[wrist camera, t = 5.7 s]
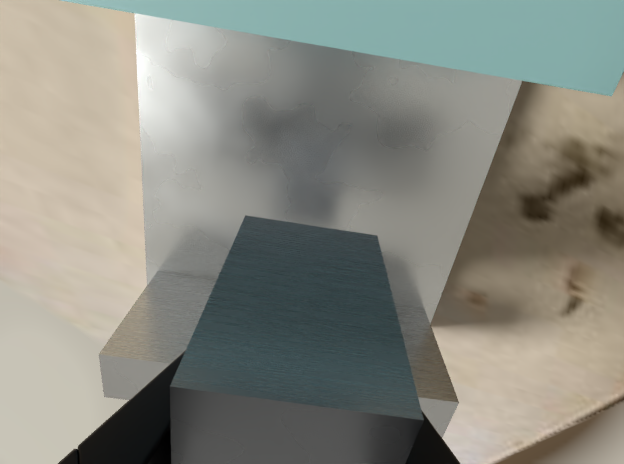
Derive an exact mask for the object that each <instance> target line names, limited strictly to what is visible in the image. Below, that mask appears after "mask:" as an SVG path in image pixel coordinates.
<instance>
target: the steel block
mask: <svg viewBox="0 0 624 464" xmlns="http://www.w3.org/2000/svg"><path fill="white" fill-rule="evenodd" d="M170 420H171V464H405V463H406V461H407V458H408V456H409V454H410V451H411V449H412V447H413V445H414V442H415V440H416V438H417V435H418V433H419V431H420V428H421V426H422V424H423V421H424V419H423V415H422V411H421V407H420V403H419V399H418V395H417V391H416V387H415V383H414V379H413V375H412V371H411V367H410V363H409V359H408V355H407V351H406V347H405V343H404V339H403V335H402V331H401V328H400V324H399V320H398V316H397V312H396V308H395V304H394V300H393V296H392V292H391V288H390V284H389V280H388V276H387V272H386V268H385V264H384V260H383V256H382V252H381V248H380V244H379V240H378V236H377V235H370V234H364V233H357V232H351V231H344V230H338V229H331V228H325V227H318V226H312V225H305V224H299V223H292V222H286V221H279V220H273V219H266V218H260V217H253V216H247V215H245V217H244V220H243V222H242V224H241V226H240V229H239V231H238V233H237V235H236V238H235V240H234V242H233V245H232V247H231V249H230V251H229V254H228V256H227V258H226V260H225V263H224V265H223V267H222V269H221V272H220V274H219V276H218V278H217V281H216V283H215V285H214V288H213V290H212V292H211V294H210V297H209V299H208V301H207V303H206V306H205V308H204V310H203V312H202V315H201V317H200V319H199V321H198V324H197V326H196V328H195V331H194V333H193V335H192V337H191V340H190V342H189V344H188V346H187V349H186V351H185V353H184V355H183V358H182V360H181V362H180V364H179V367H178V369H177V371H176V374H175V376H174V378H173V380H172V383H171V385H170Z"/></svg>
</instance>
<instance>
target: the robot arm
mask: <svg viewBox="0 0 624 464" xmlns="http://www.w3.org/2000/svg"><path fill="white" fill-rule="evenodd" d="M185 351H186V350H185ZM185 351H184V352H183V353H182V354H181V355H180V356H178V357H177V358H176V359H175V360H174V361H173V362H172V363H171V364H169V365H168V366H167V367H166V368H165V369H164V370H163V371H162V372H160V373H159V374H158V375H157V376H156V377H155V378H154V379H153V380H151V381H150V382H149V383H148V384H147V385H146V386H145V387H144V388H142V389H141V390H140V391H139V392H138V393H137V394H136V395H135V396H133V397H132V398H131V399H130V400H129V401H128V402H127V403H126V404H124V405H123V406H122V407H121V408H120V409H119V410H118V411H117V412H115V413H114V414H113V415H112V416H111V417H110V418H109V419H108V420H106V421H105V422H104V423H103V424H102V425H101V426H100V427H99V428H98V429H96V430H95V431H94V432H93V433H92V434H91V435H90V436H88V438H86V439H85V440H84V441H83V442H82V443H81V444H80V445H79V446H78V449H74V450H73V451H71V452H70V453H69V454H68V455H67V456H66V457H65V458H64V459H62V460H61V461H60V462H59V463H58V464H171V420H170V385H171V383H172V380H173V378H174V376H175V374H176V371H177V369H178V367H179V364H180V362H181V360H182V358H183V355H184V353H185ZM421 411H422V410H421ZM422 415H423V419H424V421H423V424H422V426H421V428H420V431H419V433H418V435H417V438H416V440H415V442H414V445H413V447H412V449H411V451H410V454H409V456H408V458H407V461H406V463H405V464H460V462H459V461H458V460H457V458H456V457H455V456H454V454H453V453H452V451H451V450H450V449H449V447H448V446H447V444H446V443H445V442H444V440H443V439H442V437H441V436H440V435H439V433H438V432H437V431H436V429H435V428H434V426H433V425H432V424H431V422H430V421H429V419H428V418H427V417H426V415H425V414H424V412H423V411H422Z"/></svg>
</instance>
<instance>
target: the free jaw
mask: <svg viewBox="0 0 624 464" xmlns="http://www.w3.org/2000/svg"><path fill="white" fill-rule="evenodd" d="M61 1H67V2H73V3H79V4H84V5H90V6H96V7H102V8H107V9H113V10H119V11H125V12H130V13H136V14H142V15H148V16H153V17H159V18H165V19H171V20H176V21H182V22H188V23H194V24H199V25H205V26H211V27H217V28H222V29H228V30H234V31H240V32H245V33H251V34H257V35H263V36H268V37H274V38H280V39H285V40H291V41H297V42H303V43H308V44H314V45H320V46H326V47H331V48H337V49H343V50H349V51H354V52H360V53H366V54H372V55H377V56H383V57H389V58H395V59H400V60H406V61H412V62H418V63H423V64H429V65H435V66H441V67H446V68H452V69H458V70H464V71H469V72H475V73H481V74H487V75H492V76H498V77H504V78H510V79H515V80H521V81H527V82H533V83H538V84H544V85H550V86H555V87H561V88H567V89H573V90H578V91H584V92H590V93H596V94H601V95H607V96H612V95H613V93H614V91H615V88H616V86H617V84H618V82H619V80H620V78H621V76H622V74H623V72H624V0H61Z"/></svg>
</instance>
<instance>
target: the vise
mask: <svg viewBox="0 0 624 464" xmlns="http://www.w3.org/2000/svg"><path fill="white" fill-rule="evenodd" d="M135 32H136V54H137V76H138V98H139V120H140V141H141V163H142V185H143V207H144V229H145V251H146V272H147V287H146V288H145V290H144V291H143V292H142V294H141V295H140V297H139V298H138V300H137V301H136V302H135V304H134V305H133V307H132V308H131V309H130V311H129V312H128V314H127V315H126V317H125V318H124V319H123V321H122V322H121V324H120V325H119V326H118V328H117V329H116V331H115V332H114V334H113V335H112V336H111V338H110V339H109V341H108V342H107V344H106V345H105V346H104V348H103V349H102V351H101V352H100V354H99V359H100V367H101V375H102V383H103V391H104V397H110V398H118V399H125V400H130V399H131V398H132V397H133V396H135V395H136V394H137V393H138V392H139V391H140V390H141V389H142V388H144V387H145V386H146V385H147V384H148V383H149V382H150V381H151V380H153V379H154V378H155V377H156V376H157V375H158V374H159V373H160V372H162V371H163V370H164V369H165V368H166V367H167V366H168V365H169V364H171V363H172V362H173V361H174V360H175V359H176V358H177V357H178V356H180V355H181V354H182V353H183V352H184V351H185V350H186V349H187V346H188V344H189V342H190V340H191V337H192V335H193V333H194V331H195V328H196V326H197V324H198V321H199V319H200V317H201V315H202V312H203V310H204V308H205V306H206V303H207V301H208V299H209V297H210V294H211V292H212V290H213V288H214V285H215V283H216V281H217V278H218V276H219V274H220V272H221V269H222V267H223V265H224V263H225V260H226V258H227V256H228V254H229V251H230V249H231V247H232V245H233V242H234V240H235V238H236V235H237V233H238V231H239V229H240V226H241V224H242V222H243V220H244V217H245V215H247V216H253V217H260V218H266V219H273V220H279V221H286V222H292V223H299V224H305V225H312V226H318V227H325V228H331V229H338V230H344V231H351V232H357V233H364V234H370V235H377V236H378V240H379V244H380V248H381V252H382V256H383V260H384V264H385V268H386V272H387V276H388V280H389V284H390V288H391V292H392V296H393V300H394V304H395V308H396V312H397V316H398V320H399V324H400V328H401V331H402V335H403V339H404V343H405V347H406V351H407V355H408V359H409V363H410V367H411V371H412V375H413V379H414V383H415V387H416V391H417V395H418V399H419V403H420V407H421V410H422V411H423V412H424V414H425V415H426V417H427V418H428V419H429V421H430V422H431V424H432V425H433V426H434V428H435V429H436V431H437V432H438V433H439V435H440V436H441V437H443V435H444V433H445V431H446V429H447V427H448V424H449V422H450V420H451V418H452V416H453V414H454V412H455V410H456V408H457V406H458V403H459V401H458V399H457V396H456V393H455V391H454V388H453V385H452V382H451V380H450V377H449V374H448V371H447V369H446V366H445V363H444V360H443V358H442V355H441V352H440V350H439V347H438V344H437V341H436V339H435V336H434V333H433V330H432V328H431V325H430V324H431V321H432V319H433V316H434V313H435V311H436V308H437V305H438V303H439V300H440V298H441V295H442V292H443V290H444V287H445V284H446V282H447V279H448V276H449V274H450V271H451V268H452V266H453V263H454V261H455V258H456V255H457V253H458V250H459V247H460V245H461V242H462V239H463V237H464V234H465V231H466V229H467V226H468V224H469V221H470V218H471V216H472V213H473V210H474V208H475V205H476V202H477V200H478V197H479V194H480V192H481V189H482V186H483V184H484V181H485V179H486V176H487V173H488V171H489V168H490V165H491V163H492V160H493V157H494V155H495V152H496V149H497V147H498V144H499V142H500V139H501V136H502V134H503V131H504V128H505V126H506V123H507V120H508V118H509V115H510V112H511V110H512V107H513V105H514V102H515V99H516V97H517V94H518V91H519V89H520V86H521V83H522V81H521V80H515V79H510V78H504V77H498V76H492V75H487V74H481V73H475V72H469V71H464V70H458V69H452V68H446V67H441V66H435V65H429V64H423V63H418V62H412V61H406V60H400V59H395V58H389V57H383V56H377V55H372V54H366V53H360V52H354V51H349V50H343V49H337V48H331V47H326V46H320V45H314V44H308V43H303V42H297V41H291V40H285V39H280V38H274V37H268V36H263V35H257V34H251V33H245V32H240V31H234V30H228V29H222V28H217V27H211V26H205V25H199V24H194V23H188V22H182V21H176V20H171V19H165V18H159V17H153V16H148V15H142V14H136V13H135Z"/></svg>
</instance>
